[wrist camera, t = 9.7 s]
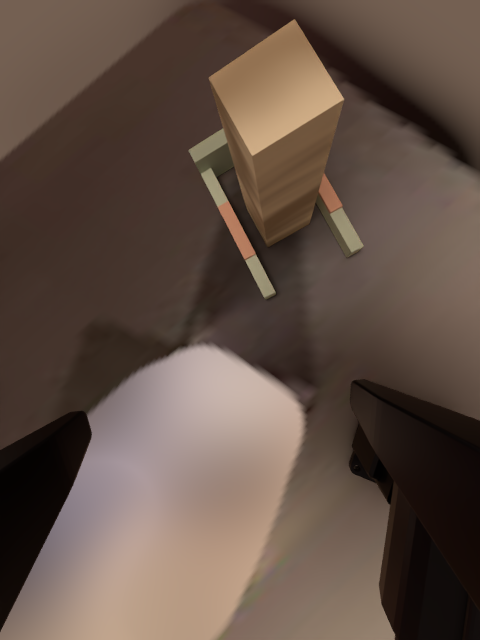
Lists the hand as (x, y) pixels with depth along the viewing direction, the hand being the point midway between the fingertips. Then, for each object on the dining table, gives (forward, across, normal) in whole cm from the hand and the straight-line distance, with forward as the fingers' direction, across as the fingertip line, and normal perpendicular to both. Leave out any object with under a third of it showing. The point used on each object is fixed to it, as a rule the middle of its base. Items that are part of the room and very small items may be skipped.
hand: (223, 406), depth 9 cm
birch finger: (+16, -6, -7) cm, 18 cm away
